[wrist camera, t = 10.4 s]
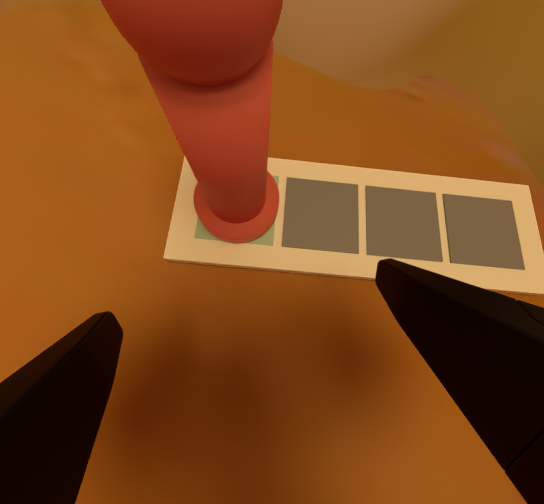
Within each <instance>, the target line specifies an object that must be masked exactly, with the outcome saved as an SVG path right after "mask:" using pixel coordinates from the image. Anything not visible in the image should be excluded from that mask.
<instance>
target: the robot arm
mask: <svg viewBox="0 0 544 504" xmlns="http://www.w3.org/2000/svg"><path fill="white" fill-rule="evenodd" d="M375 282H376V285H377V287H378V289H379V291H380V292H381V294H382V296H383V298H384V299H385V301H386V303H387V305H388V306H389V308H390V310H391V312H392V313H393V315H394V317H395V319H396V320H397V322H398V323H399V325H400V326H401V328H402V329H403V330H404V332H405V333H406V335H407V336H408V337H409V339H410V340H411V342H412V343H413V344H414V346H415V347H416V349H417V350H418V351H419V353H420V354H421V355H422V357H423V358H424V360H425V361H426V362H427V364H428V365H429V367H430V368H431V369H432V371H433V372H434V374H435V375H436V376H437V378H438V379H439V381H440V382H441V383H442V385H443V386H444V388H445V389H446V390H447V392H448V393H449V395H450V396H451V397H452V399H453V400H454V402H455V403H456V404H457V406H458V407H459V409H460V410H461V411H462V413H463V414H464V416H465V417H466V418H467V420H468V421H469V422H470V424H471V425H472V427H473V428H474V429H475V431H476V432H477V434H478V435H479V436H480V438H481V439H482V441H483V442H484V443H485V445H486V446H487V448H488V449H489V450H490V452H491V453H492V455H493V456H494V457H495V459H496V460H497V462H498V463H499V464H500V466H501V467H502V469H503V470H505V473H506V475H507V476H508V477H509V479H510V480H511V481H512V483H513V484H514V486H515V487H516V488H517V490H518V491H519V493H520V494H521V495H522V497H523V498H524V500H525V501H526V502H527V504H544V308H542V307H539V306H536V305H533V304H529V303H526V302H523V301H520V300H517V301H516V299H514V298H511V297H508V296H505V295H502V294H499V293H496V292H493V291H490V290H487V289H483V288H480V287H477V286H474V285H471V284H468V283H465V282H462V281H459V280H456V279H453V278H450V277H447V276H444V275H441V274H438V273H435V272H432V271H428V270H425V269H422V268H419V267H416V266H413V265H410V264H407V263H404V262H401V261H398V260H395V259H392V258H388V259H383V260H380V261H379V262H378V264H377V270H376V277H375ZM122 339H123V330H122V328H121V326H120V324H119V323H118V321H117V319H116V318H115V316H114V314H113V313H112V312H110V311H107V312H101V313H96V314H94V315H93V316H91V317H90V318H89V319H87V320H86V321H85V322H83V323H82V324H80V325H79V326H78V327H76V328H75V329H74V330H72V331H71V332H69V333H68V334H67V335H65V336H64V337H63V338H61V339H60V340H58V341H57V342H56V343H54V344H53V345H52V346H50V347H49V348H48V349H46V350H45V351H43V352H42V353H41V354H39V355H38V356H37V357H35V358H34V359H32V360H31V361H30V362H28V363H27V364H26V365H24V366H23V367H21V368H20V369H19V370H17V371H16V372H15V373H13V374H12V375H11V376H9V377H8V378H6V379H5V380H4V381H2V382H1V383H0V504H75V502H76V499H77V496H78V493H79V489H80V486H81V483H82V480H83V477H84V474H85V471H86V467H87V464H88V461H89V458H90V455H91V452H92V449H93V445H94V442H95V439H96V436H97V433H98V430H99V427H100V423H101V420H102V417H103V414H104V411H105V408H106V405H107V402H108V398H109V395H110V392H111V389H112V385H113V382H114V378H115V373H116V368H117V363H118V358H119V353H120V349H121V344H122Z"/></svg>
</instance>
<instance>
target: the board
mask: <svg viewBox="0 0 544 504" xmlns="http://www.w3.org/2000/svg"><path fill="white" fill-rule="evenodd" d="M267 171H268V172H269V173H270V174H271V175H272V177H273V178H274V180H275V182H276V184H277V186H278V190H279V206H278V212H277V216H276V219H275V222H274V223H273V225H272V227H271V228H270V229H269V230H268V231H267V232H266V233H265V234H264V235H263V236H261V237H260V238H258V239H256V240H253V241H251V242H247V243H229V242H225V241H222V240H220V239H218V238H216V237H215V236H213V235H212V234H211V233H210V232H209V231H208V230H207V229H206V228H205V226H204V225H203V223H202V222H201V220H200V219H199V217H198V215H197V213H196V210H195V207H194V200H193V197H194V190H195V187H196V184H197V180H196V178H195V176H194V174H193V171H192V169H191V167H190V165H189V163H188V161H187V159H186V157H184V162H183V167H182V171H181V176H180V181H179V186H178V191H177V195H176V200H175V205H174V210H173V214H172V219H171V224H170V229H169V234H168V238H167V243H166V248H165V253H164V257H163V259H165V260H167V261H172V262H183V263H194V264H204V265H215V266H226V267H237V268H247V269H258V270H269V271H279V272H290V273H301V274H312V275H322V276H333V277H344V278H355V279H365V280H375V277H376V270H377V264H378V262H379V261H380V260H383V259H388V258H392V259H395V260H398V261H401V262H404V263H407V264H410V265H413V266H416V267H419V268H422V269H425V270H428V271H432V272H435V273H438V274H441V275H444V276H447V277H450V278H453V279H456V280H459V281H462V282H465V283H468V284H471V285H474V286H477V287H480V288H483V289H487V290H490V291H494V292H505V293H515V294H526V295H537V296H543V295H544V253H543V249H542V244H541V240H540V235H539V231H538V226H537V222H536V217H535V213H534V208H533V204H532V199H531V194H530V190H529V186H528V185H519V184H509V183H500V182H491V181H482V180H472V179H463V178H454V177H444V176H435V175H426V174H417V173H407V172H398V171H389V170H380V169H370V168H361V167H352V166H342V165H333V164H324V163H315V162H305V161H296V160H287V159H277V158H268V163H267Z"/></svg>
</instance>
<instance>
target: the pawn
mask: <svg viewBox="0 0 544 504" xmlns="http://www.w3.org/2000/svg"><path fill="white" fill-rule="evenodd" d="M101 2H102V4H103V5H104V7H105V9H106V11H107V12H108V14H109V16H110V18H111V19H112V21H113V23H114V24H115V26H116V27H117V29H118V30H119V31H120V33H121V34H122V36H123V37H124V38H125V39H126V40H127V42H128V43H129V44H130V45H131V46H132V47H133V49H134V50H135V51H136V52H137V53H138V56H139V59H140V62H141V64H142V66H143V68H144V70H145V73H146V75H147V77H148V79H149V81H150V83H151V85H152V87H153V89H154V92H155V94H156V96H157V98H158V100H159V102H160V104H161V106H162V108H163V110H164V113H165V115H166V117H167V119H168V121H169V123H170V125H171V127H172V129H173V132H174V134H175V136H176V138H177V140H178V142H179V144H180V146H181V148H182V150H183V153H184V155H185V157H186V159H187V161H188V163H189V165H190V167H191V169H192V171H193V174H194V176H195V178H196V180H197V184H196V187H195V190H194V197H193V200H194V207H195V210H196V213H197V215H198V217H199V219H200V220H201V222H202V223H203V225H204V226H205V228H206V229H207V230H208V231H209V232H210V233H211V234H212V235H213V236H215V237H216V238H218V239H220V240H222V241H225V242H229V243H247V242H251V241H253V240H256V239H258V238H260V237H261V236H263V235H264V234H265V233H266V232H267V231H268V230H269V229H270V228H271V227H272V225H273V223H274V222H275V219H276V216H277V212H278V206H279V190H278V186H277V184H276V182H275V180H274V178H273V177H272V175H271V174H270V173H269V172H268V171H267V163H268V143H269V122H270V101H271V81H272V60H273V41H272V38H273V36H274V33H275V30H276V27H277V24H278V21H279V17H280V13H281V9H282V2H283V0H101Z"/></svg>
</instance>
